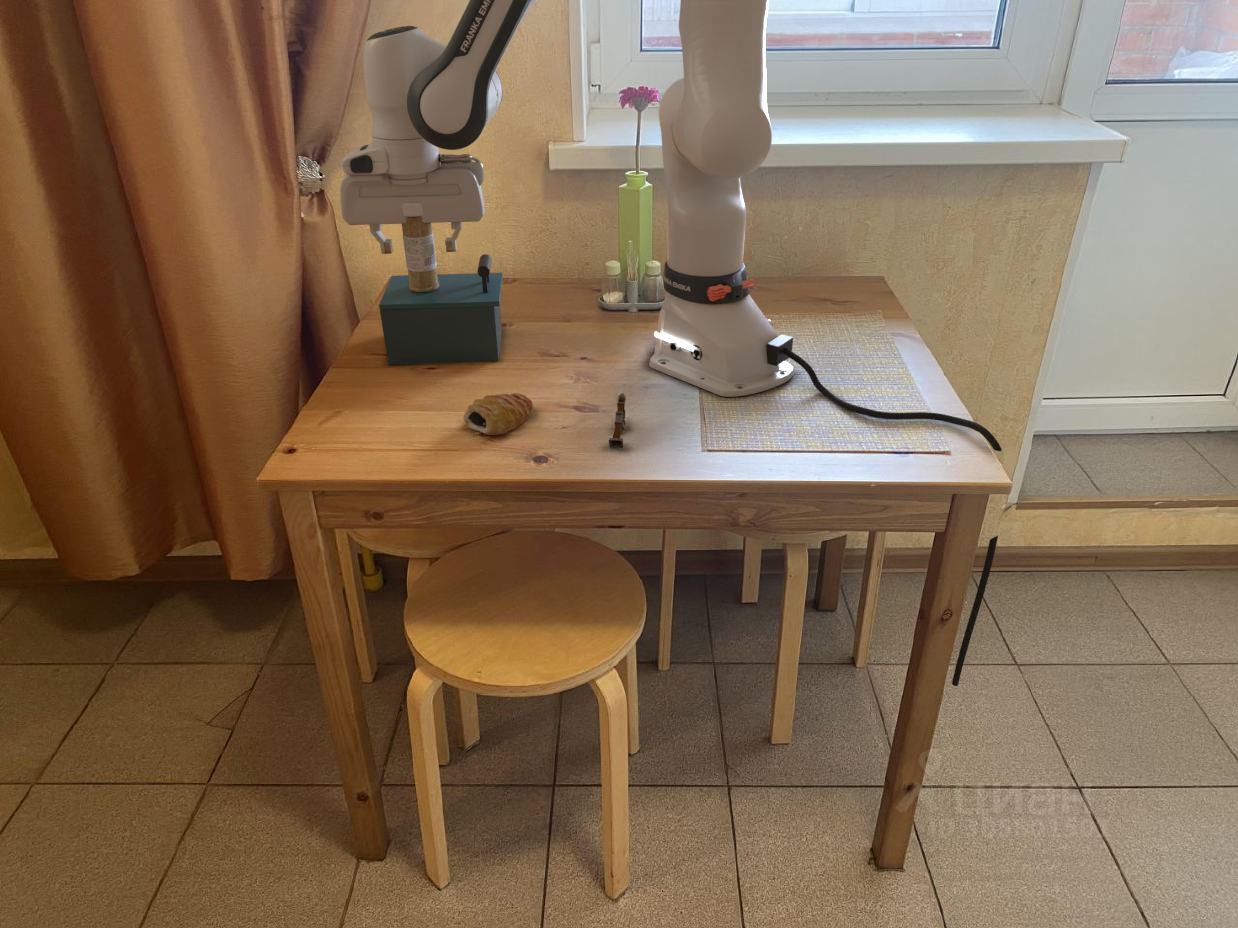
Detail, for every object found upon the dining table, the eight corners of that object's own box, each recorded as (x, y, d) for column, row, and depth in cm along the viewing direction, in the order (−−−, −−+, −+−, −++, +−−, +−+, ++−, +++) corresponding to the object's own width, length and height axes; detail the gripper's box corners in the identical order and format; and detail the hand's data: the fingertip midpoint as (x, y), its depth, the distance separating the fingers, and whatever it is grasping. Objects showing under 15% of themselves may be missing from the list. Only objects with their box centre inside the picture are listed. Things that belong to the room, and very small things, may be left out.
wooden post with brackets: (630, 411, 118) (629, 390, 114) (624, 460, 113) (622, 439, 110) (616, 410, 118) (615, 389, 114) (610, 459, 114) (608, 438, 110)
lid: (502, 277, 140) (500, 246, 138) (499, 306, 130) (497, 273, 127) (392, 280, 139) (387, 249, 137) (379, 309, 129) (374, 276, 126)
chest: (502, 329, 145) (497, 277, 140) (498, 361, 134) (494, 306, 130) (399, 332, 144) (392, 280, 139) (388, 365, 133) (379, 310, 129)
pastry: (512, 401, 123) (510, 376, 121) (546, 416, 119) (545, 391, 117) (459, 425, 117) (457, 400, 115) (494, 443, 113) (491, 416, 111)
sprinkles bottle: (430, 281, 137) (419, 193, 130) (445, 289, 134) (435, 199, 127) (403, 287, 134) (391, 198, 127) (418, 296, 131) (406, 205, 124)
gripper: (483, 149, 127) (491, 243, 134) (339, 152, 126) (354, 247, 133) (480, 158, 122) (489, 256, 129) (329, 162, 120) (346, 260, 128)
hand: (419, 252), depth 131 cm, fingers open, 8 cm apart
